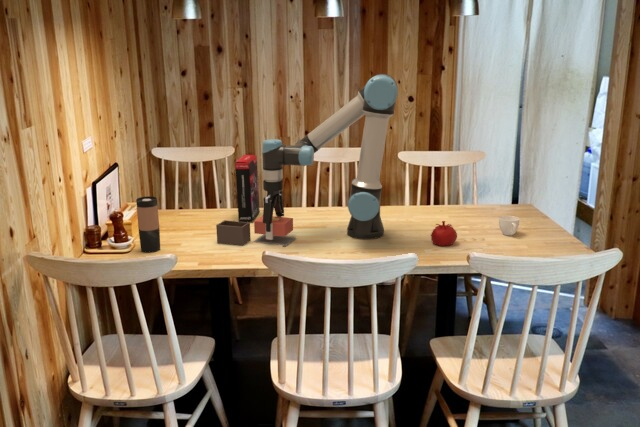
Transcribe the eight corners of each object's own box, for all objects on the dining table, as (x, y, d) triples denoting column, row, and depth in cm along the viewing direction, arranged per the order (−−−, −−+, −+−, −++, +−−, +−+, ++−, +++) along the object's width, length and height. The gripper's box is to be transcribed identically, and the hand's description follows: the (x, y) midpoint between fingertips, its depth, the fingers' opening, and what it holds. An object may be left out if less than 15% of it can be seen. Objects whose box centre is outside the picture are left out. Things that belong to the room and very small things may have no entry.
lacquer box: (250, 242, 246) (249, 222, 244) (243, 247, 240) (242, 227, 238) (225, 239, 250) (224, 220, 248) (217, 244, 243) (216, 225, 241)
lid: (293, 230, 249) (292, 217, 247) (285, 236, 241) (284, 223, 239) (263, 227, 252) (263, 214, 251) (254, 233, 244) (254, 220, 243)
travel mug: (162, 246, 242) (159, 196, 237) (158, 252, 235) (154, 201, 229) (143, 246, 242) (138, 196, 236) (138, 253, 234) (133, 201, 229)
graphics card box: (252, 223, 272) (250, 161, 265) (237, 223, 273) (234, 161, 265) (259, 212, 288) (258, 154, 281) (245, 212, 289) (242, 154, 282)
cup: (513, 231, 259) (514, 215, 257) (523, 238, 249) (525, 222, 247) (495, 231, 258) (496, 216, 256) (505, 239, 248) (506, 222, 246)
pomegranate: (461, 245, 242) (463, 222, 239) (441, 249, 237) (443, 225, 234) (444, 238, 250) (446, 215, 247) (424, 241, 245) (426, 219, 243)
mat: (295, 238, 250) (295, 237, 250) (285, 246, 240) (285, 245, 240) (263, 235, 255) (263, 234, 255) (252, 243, 245) (252, 242, 244)
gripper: (274, 173, 252) (275, 227, 258) (252, 185, 232) (254, 242, 238) (292, 174, 250) (292, 228, 256) (271, 186, 230) (272, 244, 236)
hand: (274, 235), depth 247 cm, fingers closed on lid, 9 cm apart
